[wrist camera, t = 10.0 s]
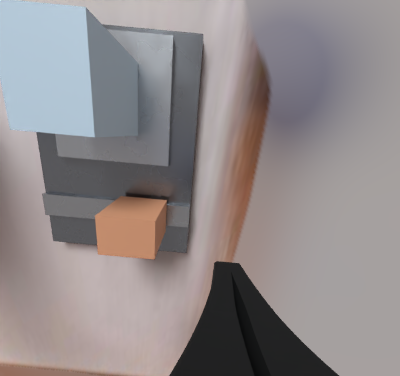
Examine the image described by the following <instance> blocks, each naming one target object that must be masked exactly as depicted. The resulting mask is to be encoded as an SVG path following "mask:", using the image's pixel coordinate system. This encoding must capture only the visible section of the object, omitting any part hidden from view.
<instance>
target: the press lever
mask: <svg viewBox="0 0 400 376" xmlns="http://www.w3.org/2000/svg"><path fill="white" fill-rule="evenodd" d="M166 211H167V200H159V199H148V198H137V197H126V196H120V197H119V198H118V199H116V200H115V201H114V202H112V203H111V204H110V205H108V206H107V207H106V208H105V209H103V210H102V211H101V212H99V213H98V214H97V215H95V223H96V235H97V247H98V254H99V255H110V256H121V257H133V258H144V259H155V257H156V254H157V252H158V249H159V247H160V244H161V242H162V239H163V236H164V234H165V231H166Z"/></svg>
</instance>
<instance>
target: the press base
mask: <svg viewBox="0 0 400 376" xmlns="http://www.w3.org/2000/svg"><path fill="white" fill-rule="evenodd" d="M103 26H104V27H105V28H106V29H107V30H108V31H109V32H110V34H111V35H112V36H113V37H114V38H115V39H116V40H117V41H118V42H119V43H120V44H121V45H122V46H123V47H124V48H125V50H126V51H127V52H128V53H129V54H130V55H131V56H132V57H133V58H134V59H135V60H136V61H137V62H138V136H117V137H86V136H75V135H64V134H53V133H43V132H37V138H38V145H39V151H40V158H41V164H42V170H43V177H44V183H45V189H46V193H43V194H42V195H43V201H44V208H45V214H46V215H50V221H51V228H52V234H53V240H54V241H59V242H70V243H81V244H93V245H97V235H96V223H95V215H97V214H98V213H99V212H101V211H102V210H103V209H105V208H106V207H107V206H108V205H110V204H111V203H112V202H114V201H115V200H116V199H118V198H119V197H120V196H126V197H137V198H148V199H159V200H167V211H166V231H165V234H164V236H163V239H162V242H161V244H160V247H159V249H158V250H160V251H171V252H182V253H186V251H187V243H188V230H189V217H190V205H191V192H192V179H193V167H194V154H195V141H196V128H197V116H198V103H199V90H200V78H201V65H202V52H203V34H198V33H187V32H177V31H166V30H155V29H145V28H134V27H124V26H113V25H103Z"/></svg>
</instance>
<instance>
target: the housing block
mask: <svg viewBox="0 0 400 376" xmlns="http://www.w3.org/2000/svg"><path fill="white" fill-rule="evenodd" d="M0 80H1V85H2V90H3V96H4V101H5V106H6V111H7V116H8V121H9V126H10V130H21V131H32V132H43V133H53V134H64V135H75V136H86V137H117V136H138V62H137V61H136V60H135V59H134V58H133V57H132V56H131V55H130V54H129V53H128V52H127V51H126V50H125V48H124V47H123V46H122V45H121V44H120V43H119V42H118V41H117V40H116V39H115V38H114V37H113V36H112V35H111V34H110V32H109V31H108V30H107V29H106V28H105V27H104V26H103V25H102V24H101V23H100V22H99V21H98V20H97V19H96V18H95V17H94V15H93V14H92V13H91V12H90V11H89V10H88V9H87V8H86V7H80V6H70V5H59V4H49V3H38V2H28V1H18V0H0Z"/></svg>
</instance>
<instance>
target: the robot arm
mask: <svg viewBox="0 0 400 376" xmlns="http://www.w3.org/2000/svg"><path fill="white" fill-rule="evenodd" d="M170 376H339V375H338V374H336V373H335V372H334V371H333V370H332V369H331V368H330V367H329V366H327V365H326V364H325V363H324V362H323V361H322V360H321V359H320V358H319V357H317V356H316V355H315V354H314V353H313V352H312V351H311V350H310V349H309V348H308V347H307V346H306V345H305V344H304V343H303V342H302V341H301V340H300V339H299V338H298V337H297V336H296V335H295V334H294V333H293V332H292V331H291V330H290V329H289V328H288V327H287V326H286V324H285V323H284V322H283V321H282V320H281V319H280V318H279V317H278V315H277V314H276V313H275V312H274V311H273V309H272V308H271V307H270V306H269V305H268V303H267V302H266V301H265V299H264V298H263V297H262V296H261V294H260V293H259V291H258V290H257V289H256V287H255V286H254V285H253V283H252V282H251V280H250V279H249V277H248V276H247V275H246V273H245V271H244V270H243V268H242V267H241V265H240V264H239V263H229V262H218V261H217V262H215V263H214V270H213V278H212V285H211V290H210V294H209V296H208V299H207V302H206V305H205V308H204V310H203V313H202V315H201V317H200V320H199V322H198V324H197V326H196V328H195V330H194V333H193V335H192V337H191V339H190V341H189V343H188V344H187V346H186V348H185V350H184V352H183V353H182V355H181V357H180V359H179V360H178V362H177V364H176V366H175V367H174V369H173V371H172V372H171V374H170Z"/></svg>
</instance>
